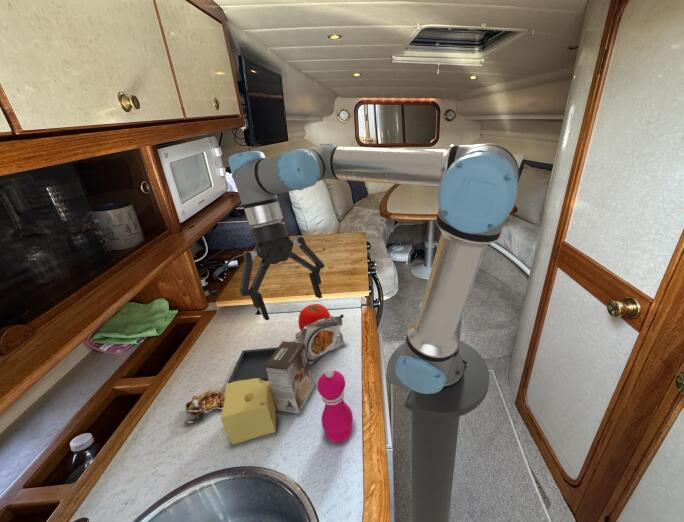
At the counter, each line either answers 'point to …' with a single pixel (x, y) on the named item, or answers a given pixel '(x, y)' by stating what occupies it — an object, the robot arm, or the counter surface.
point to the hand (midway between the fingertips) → (294, 307)
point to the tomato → (312, 314)
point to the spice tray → (252, 365)
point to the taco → (205, 404)
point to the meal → (321, 337)
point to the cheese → (248, 410)
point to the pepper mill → (335, 406)
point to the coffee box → (290, 376)
